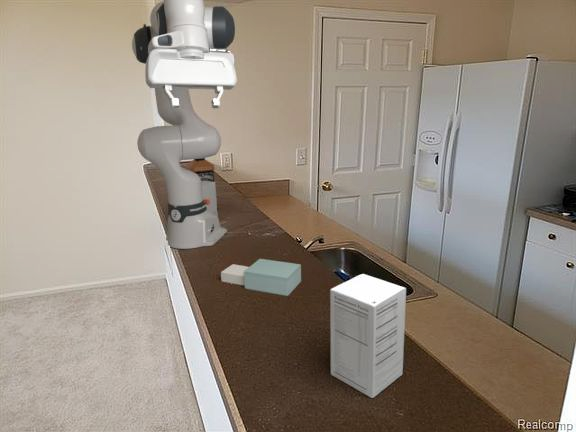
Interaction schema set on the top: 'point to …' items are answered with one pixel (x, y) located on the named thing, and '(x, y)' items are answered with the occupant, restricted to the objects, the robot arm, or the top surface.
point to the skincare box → (210, 195)
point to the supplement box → (367, 333)
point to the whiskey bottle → (202, 169)
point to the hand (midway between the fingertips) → (196, 107)
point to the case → (272, 276)
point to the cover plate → (234, 274)
